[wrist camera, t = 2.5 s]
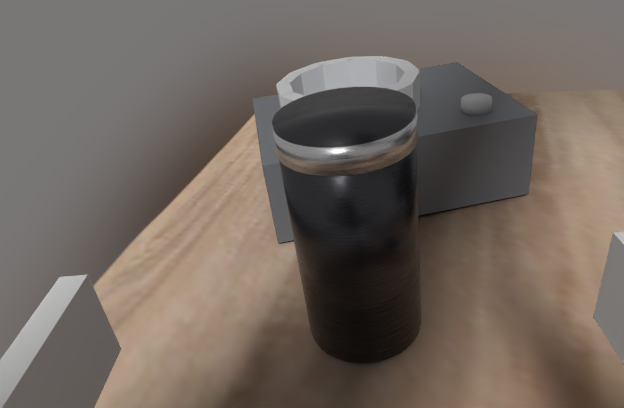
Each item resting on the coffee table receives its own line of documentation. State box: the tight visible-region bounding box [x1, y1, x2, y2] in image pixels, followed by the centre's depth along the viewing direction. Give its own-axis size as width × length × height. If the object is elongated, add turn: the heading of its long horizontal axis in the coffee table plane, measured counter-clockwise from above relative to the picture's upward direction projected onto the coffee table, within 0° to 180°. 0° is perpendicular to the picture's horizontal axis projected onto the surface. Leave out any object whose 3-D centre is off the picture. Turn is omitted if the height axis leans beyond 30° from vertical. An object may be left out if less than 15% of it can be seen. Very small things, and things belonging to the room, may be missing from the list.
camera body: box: [253, 56, 537, 243], centre depth 38 cm, size 18×13×8 cm
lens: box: [272, 87, 421, 362], centre depth 24 cm, size 6×6×12 cm
